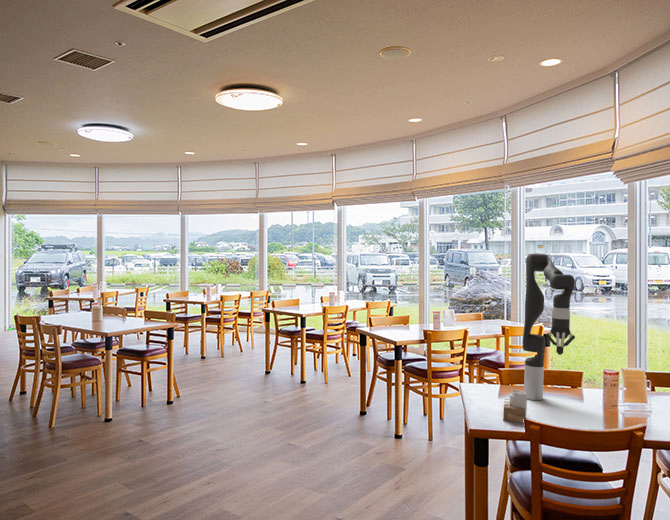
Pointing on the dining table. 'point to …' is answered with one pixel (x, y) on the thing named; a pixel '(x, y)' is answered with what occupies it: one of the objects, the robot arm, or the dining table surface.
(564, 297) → the robot arm
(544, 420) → the dining table surface
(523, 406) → the can
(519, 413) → the corner stop
